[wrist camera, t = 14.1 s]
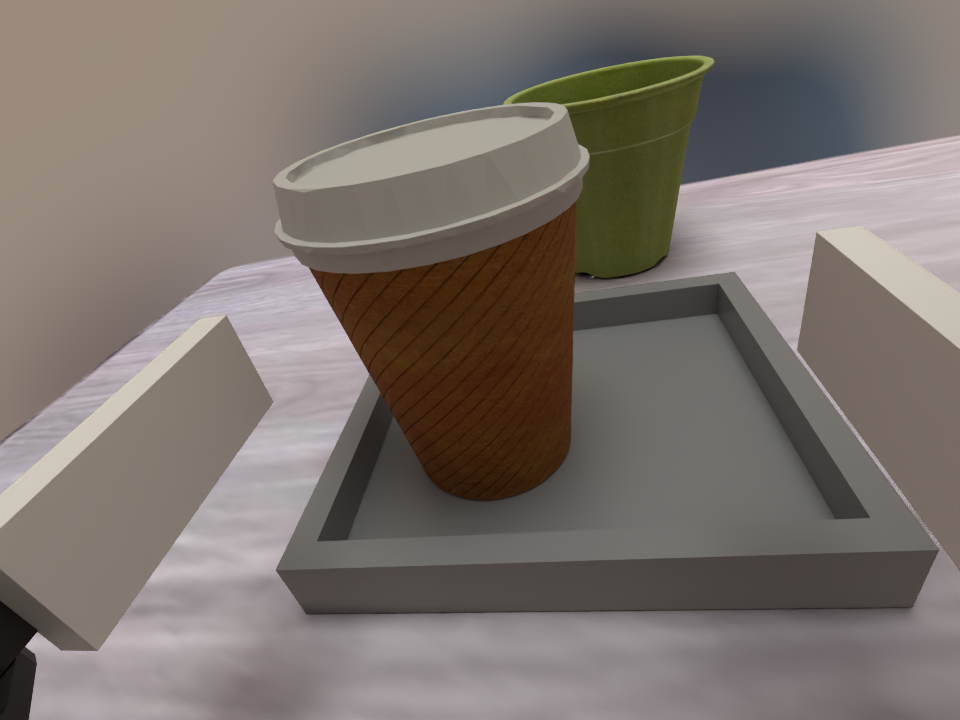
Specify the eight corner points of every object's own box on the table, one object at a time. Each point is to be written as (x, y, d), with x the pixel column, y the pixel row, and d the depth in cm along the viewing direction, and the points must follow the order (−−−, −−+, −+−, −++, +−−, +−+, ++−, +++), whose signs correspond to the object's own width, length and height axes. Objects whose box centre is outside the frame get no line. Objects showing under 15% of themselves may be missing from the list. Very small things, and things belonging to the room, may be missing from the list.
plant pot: (502, 262, 39) (471, 103, 33) (629, 215, 42) (622, 59, 36) (592, 319, 29) (572, 108, 23) (748, 251, 32) (766, 48, 26)
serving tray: (731, 315, 27) (734, 271, 25) (912, 607, 14) (938, 549, 12) (409, 353, 30) (397, 317, 29) (306, 613, 17) (276, 570, 16)
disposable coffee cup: (342, 466, 22) (205, 188, 15) (491, 355, 27) (434, 109, 20) (503, 591, 15) (384, 208, 9) (659, 415, 20) (654, 86, 14)
